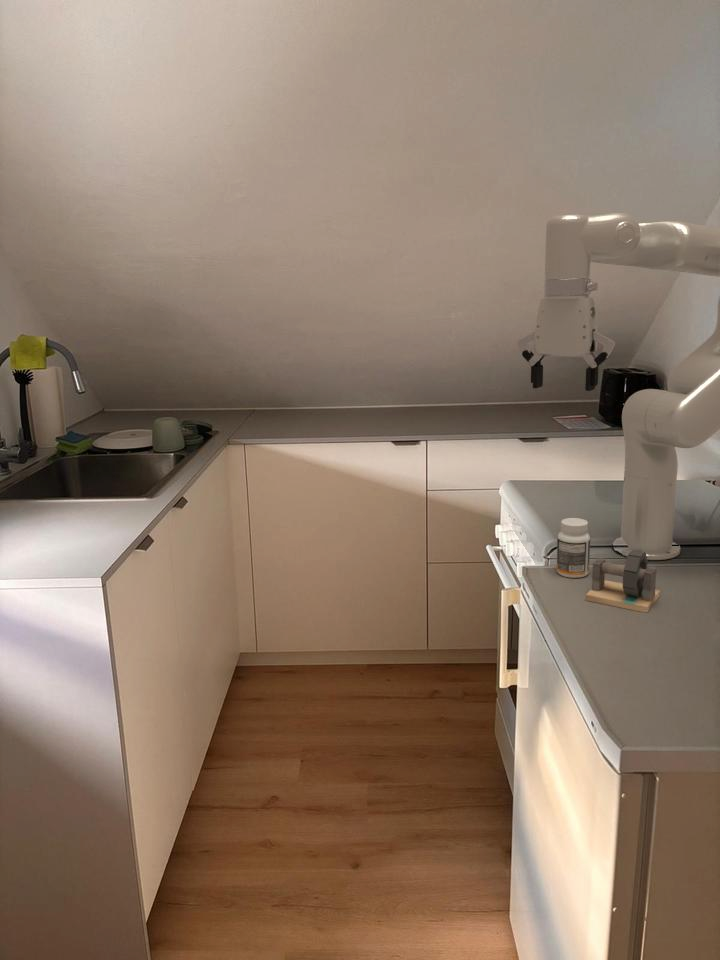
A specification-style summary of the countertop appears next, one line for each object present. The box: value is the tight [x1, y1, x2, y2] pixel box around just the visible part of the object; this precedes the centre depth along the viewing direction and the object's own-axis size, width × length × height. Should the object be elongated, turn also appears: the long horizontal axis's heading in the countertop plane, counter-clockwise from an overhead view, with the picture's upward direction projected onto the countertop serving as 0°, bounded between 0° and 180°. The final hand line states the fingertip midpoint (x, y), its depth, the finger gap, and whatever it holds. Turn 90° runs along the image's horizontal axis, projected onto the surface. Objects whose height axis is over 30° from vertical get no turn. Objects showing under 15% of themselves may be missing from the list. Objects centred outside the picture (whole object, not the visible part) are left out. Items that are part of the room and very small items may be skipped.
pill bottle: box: [556, 517, 591, 579], centre depth 140 cm, size 6×6×10 cm
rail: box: [584, 557, 661, 614], centre depth 129 cm, size 8×10×6 cm
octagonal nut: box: [622, 550, 649, 597], centre depth 127 cm, size 7×2×7 cm, turn 146°
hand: (563, 388), depth 137 cm, fingers open, 9 cm apart
